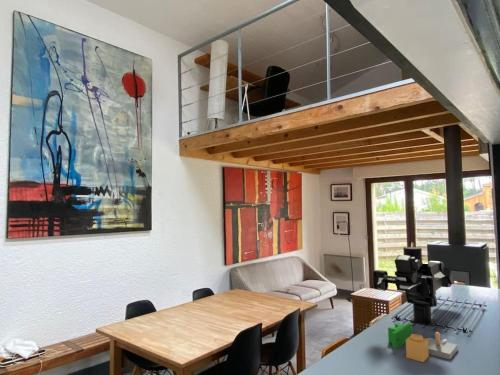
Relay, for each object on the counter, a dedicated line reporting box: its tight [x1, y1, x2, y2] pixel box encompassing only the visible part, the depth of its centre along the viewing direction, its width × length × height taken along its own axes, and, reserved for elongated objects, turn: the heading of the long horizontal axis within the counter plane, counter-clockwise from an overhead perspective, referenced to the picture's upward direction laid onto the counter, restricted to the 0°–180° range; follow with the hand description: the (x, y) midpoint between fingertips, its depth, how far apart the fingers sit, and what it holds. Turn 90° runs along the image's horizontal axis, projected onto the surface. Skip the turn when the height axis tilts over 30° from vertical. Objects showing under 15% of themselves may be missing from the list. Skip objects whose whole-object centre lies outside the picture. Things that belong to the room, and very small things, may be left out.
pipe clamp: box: [387, 322, 413, 349], centre depth 105 cm, size 11×4×5 cm, turn 131°
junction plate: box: [426, 331, 459, 360], centre depth 98 cm, size 9×8×5 cm
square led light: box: [405, 333, 430, 363], centre depth 94 cm, size 4×4×6 cm
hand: (392, 288), depth 104 cm, fingers open, 9 cm apart
